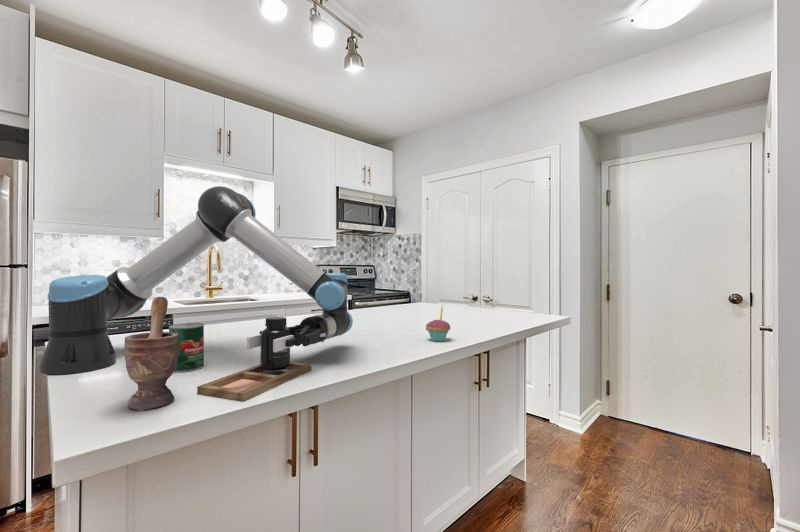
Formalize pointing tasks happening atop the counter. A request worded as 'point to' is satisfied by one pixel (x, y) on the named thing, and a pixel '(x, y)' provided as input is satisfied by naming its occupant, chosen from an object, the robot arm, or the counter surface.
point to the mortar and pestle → (152, 360)
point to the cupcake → (438, 329)
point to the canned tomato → (189, 346)
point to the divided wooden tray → (249, 382)
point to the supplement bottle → (267, 356)
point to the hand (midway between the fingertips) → (261, 344)
